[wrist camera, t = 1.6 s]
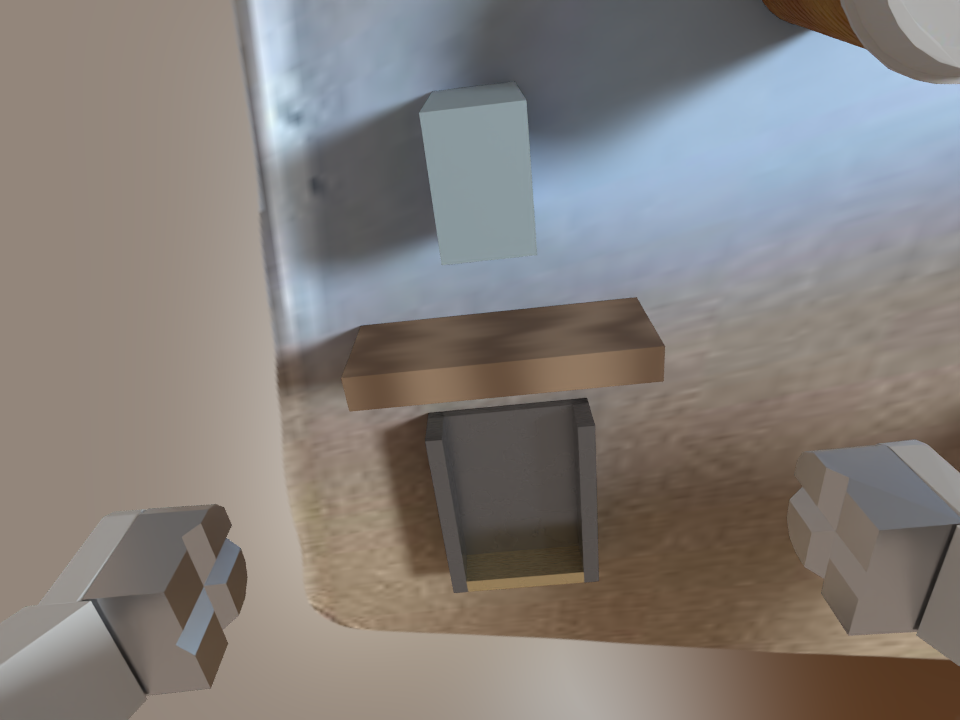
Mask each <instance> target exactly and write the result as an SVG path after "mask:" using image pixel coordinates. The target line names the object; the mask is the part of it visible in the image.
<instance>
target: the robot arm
mask: <svg viewBox="0 0 960 720" xmlns="http://www.w3.org/2000/svg"><path fill="white" fill-rule="evenodd" d="M794 476H795V477H796V478H797V480H798V481H799V482H800V484H801V485H802V486H803V487H802V488H801V489H800V490H799V491H798V492H797V493H796V494H795V495H794V496H793V497H792V498H791V499H790V500H789V506H788V513H787V524H788V530H789V537H790V540H791V542H792V545H793V547H794V550H795V552H796V554H797V556H798V557H799V559H800V561H801V562H802V564H803V565H804V567H805V568H807V569H809V570H810V571H812V572H814V573H815V574H817V575H819V576H820V577H822V578H823V579H824V582H823V587H822V591H821V594H822V595H823V597H824V598H825V600H826V602H827V603H828V605H829V606H830V608H831V609H832V611H833V612H834V614H835V616H836V617H837V619H838V620H839V622H840V623H841V625H842V626H843V628H844V629H845V631H846V633H847V634H848V636H849V635H867V634H885V633H903V632H917V634H916V635H917V636H918V637H919V638H921V639H922V640H924V641H925V642H926V643H928V644H929V645H931V646H932V647H933V648H935V649H936V650H938V651H939V652H940V653H942V654H943V655H944V656H946V657H947V658H949V659H950V660H951V661H953V662H954V663H956V664H957V665H958V666H960V473H959V472H958V471H957V470H956V469H955V468H954V467H952V466H951V465H950V464H949V463H948V462H947V461H946V460H945V459H943V458H942V457H941V456H940V455H939V454H938V453H937V452H936V451H934V450H933V449H932V448H931V447H930V446H929V445H928V444H925V443H923V442H920V441H918V440H907V441H898V442H889V443H880V444H877V445H869V446H858V447H848V448H837V449H827V450H816V451H806V452H803V453H802V454H801V456H800V457H799V459H798V460H797V464H796V469H795V473H794ZM231 526H232V524H231V522H230V520H229V518H228V515H227V513H226V510H225V508H224V507H222V506H219V505H217V504H211V505H197V506H182V507H167V508H152V509H147V510H132V511H116V512H112V513H110V514H108V515H106V516H104V517H103V518H102V519H101V521H100V522H99V523H98V525H97V526H96V527H95V529H94V530H93V531H92V533H91V534H90V535H89V537H88V538H87V540H86V541H85V542H84V544H83V545H82V546H81V548H80V549H79V551H78V552H77V553H76V554H75V556H74V557H73V558H72V560H71V561H70V563H69V564H68V565H67V566H66V568H65V569H64V571H63V572H62V573H61V575H60V576H59V577H58V579H57V580H56V581H55V583H54V584H53V585H52V587H51V588H50V589H49V591H48V592H47V594H46V595H45V596H44V597H43V599H42V600H41V601H40V603H39V604H38V605H36V606H26V607H24V608H23V609H21V610H20V611H18V612H17V613H15V614H14V615H12V616H11V617H9V618H8V619H6V620H5V621H3V622H2V623H0V720H128V719H129V718H130V717H131V716H132V715H133V714H134V713H135V712H136V711H137V710H138V709H139V707H140V706H141V705H142V704H143V703H144V702H145V701H146V700H147V698H146V696H149V695H158V694H167V693H176V692H185V691H193V690H202V689H211V687H212V684H213V682H214V679H215V676H216V674H217V671H218V668H219V666H220V663H221V661H222V658H223V655H224V653H225V650H226V648H227V645H228V642H227V640H226V637H225V635H224V632H223V629H224V628H225V627H226V626H228V625H229V624H230V623H231V622H232V621H233V620H234V619H235V618H236V617H237V616H238V615H239V614H240V611H241V608H242V605H243V602H244V600H245V594H246V586H247V570H246V562H245V559H244V556H243V554H242V550H241V548H240V547H238V546H237V545H236V544H234V543H233V542H231V541H230V540H229V539H227V538H226V537H227V535H228V533H229V530H230V528H231Z"/></svg>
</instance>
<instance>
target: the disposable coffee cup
mask: <svg viewBox="0 0 960 720" xmlns="http://www.w3.org/2000/svg"><path fill="white" fill-rule="evenodd" d="M762 1H763V3H764V4H765V5H766V6H767V8H768V9H769V10H770V11H771V12H772V13H773V14H775V15H776V16H777V17H779V18H780V19H782V20H784V21H787V22H789V23H791V24H796V25H799V26H801V27H804V28H807V29H810V30H813V31H816V32H819V33H822V34H824V35H827V36H830V37H833V38H836V39H839V40H841V41H845V42H847V43H850V44H853V45H856V46H859V47H861V48H864V49H867V50H868V51H869V52H870V53H871V54H872V55H874V56H875V57H876V58H877V59H878V60H879V61H880V62H881V63H883V64H884V65H885V66H886V67H887V68H888V69H890V70H892V71H895V72H897V73H900V74H902V75H905V76H907V77H909V78H912V79H915V80H919V81H923V82H929V83H934V84H960V0H762Z"/></svg>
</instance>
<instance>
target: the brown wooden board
mask: <svg viewBox="0 0 960 720" xmlns="http://www.w3.org/2000/svg"><path fill="white" fill-rule="evenodd" d="M664 357H665V345H664V344H663V342H662V340H661V339H660V337H659V335H658V333H657V332H656V330H655V328H654V326H653V325H652V323H651V321H650V320H649V318H648V316H647V314H646V313H645V311H644V309H643V307H642V306H641V304H640V302H639V301H638V299H637V297H636V298H626V299H616V300H607V301H597V302H587V303H578V304H568V305H558V306H549V307H539V308H529V309H519V310H510V311H500V312H490V313H481V314H471V315H461V316H452V317H442V318H432V319H422V320H413V321H403V322H393V323H384V324H374V325H364V326H361V327H360V330H359V332H358V335H357V337H356V340H355V343H354V345H353V348H352V351H351V353H350V356H349V359H348V361H347V364H346V366H345V369H344V372H343V374H342V377H341V380H342V384H343V388H344V392H345V396H346V400H347V403H348V407H349V411H360V410H370V409H381V408H391V407H401V406H412V405H422V404H433V403H443V402H453V401H464V400H474V399H485V398H495V397H505V396H516V395H526V394H537V393H547V392H557V391H568V390H578V389H588V388H599V387H609V386H620V385H630V384H640V383H651V382H661V381H664Z"/></svg>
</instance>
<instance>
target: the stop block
mask: <svg viewBox="0 0 960 720" xmlns="http://www.w3.org/2000/svg"><path fill="white" fill-rule="evenodd" d="M419 116H420V123H421V129H422V136H423V143H424V150H425V156H426V163H427V170H428V177H429V183H430V190H431V197H432V204H433V210H434V217H435V224H436V230H437V237H438V244H439V251H440V257H441V264H442V265H450V264H459V263H468V262H477V261H487V260H496V259H505V258H515V257H524V256H533V255H537V247H536V232H535V218H534V203H533V189H532V174H531V159H530V145H529V130H528V116H527V101H526V99H525V97H524V96H523V94H522V92H521V91H520V89H519V88H518V86H517V85H516V83H515V81H514V82H505V83H497V84H489V85H481V86H472V87H464V88H456V89H448V90H439V91H432V93H431V94H430V96H429V98H428V99H427V101H426V103H425V104H424V106H423V107H422V109H421V111H420V112H419Z"/></svg>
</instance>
